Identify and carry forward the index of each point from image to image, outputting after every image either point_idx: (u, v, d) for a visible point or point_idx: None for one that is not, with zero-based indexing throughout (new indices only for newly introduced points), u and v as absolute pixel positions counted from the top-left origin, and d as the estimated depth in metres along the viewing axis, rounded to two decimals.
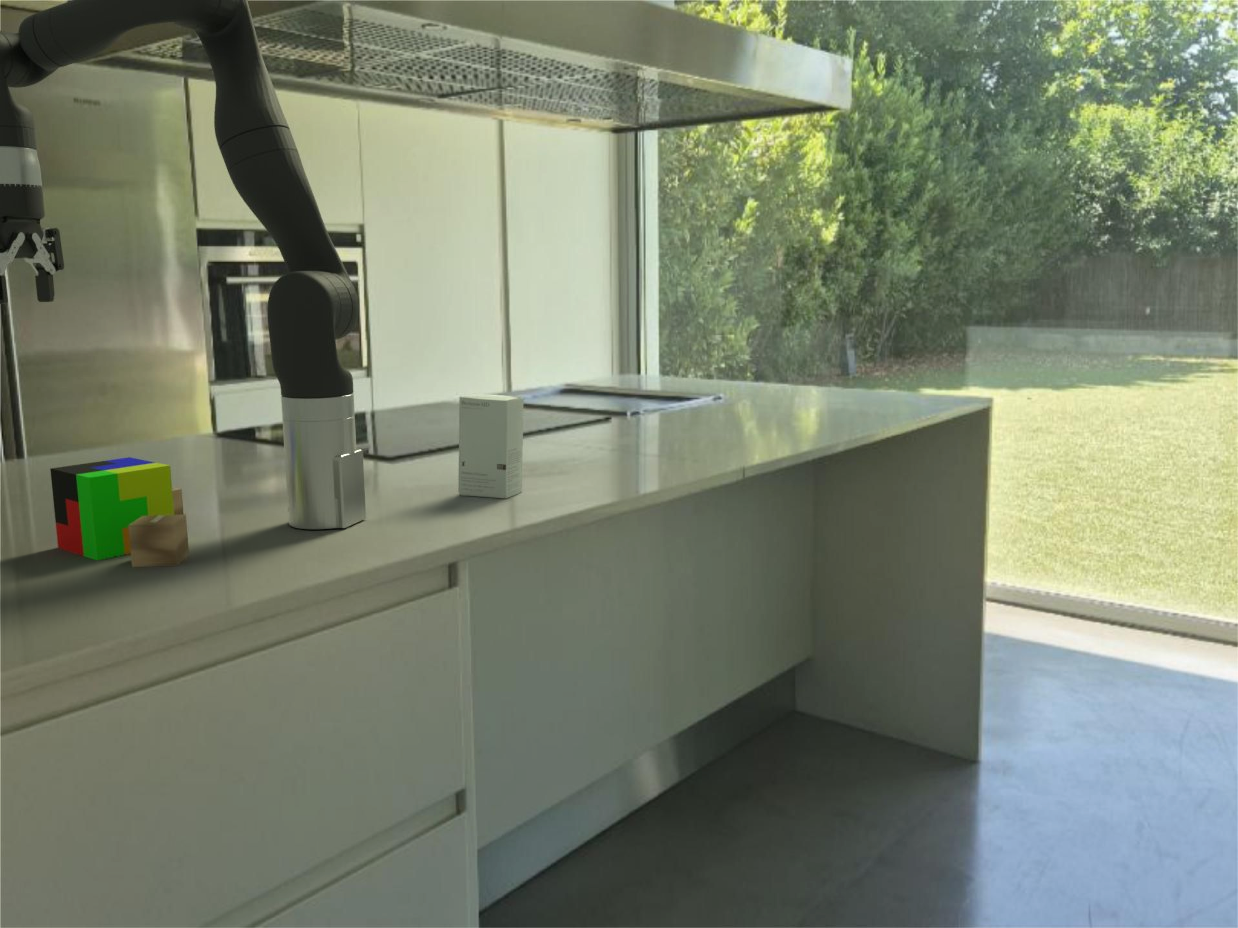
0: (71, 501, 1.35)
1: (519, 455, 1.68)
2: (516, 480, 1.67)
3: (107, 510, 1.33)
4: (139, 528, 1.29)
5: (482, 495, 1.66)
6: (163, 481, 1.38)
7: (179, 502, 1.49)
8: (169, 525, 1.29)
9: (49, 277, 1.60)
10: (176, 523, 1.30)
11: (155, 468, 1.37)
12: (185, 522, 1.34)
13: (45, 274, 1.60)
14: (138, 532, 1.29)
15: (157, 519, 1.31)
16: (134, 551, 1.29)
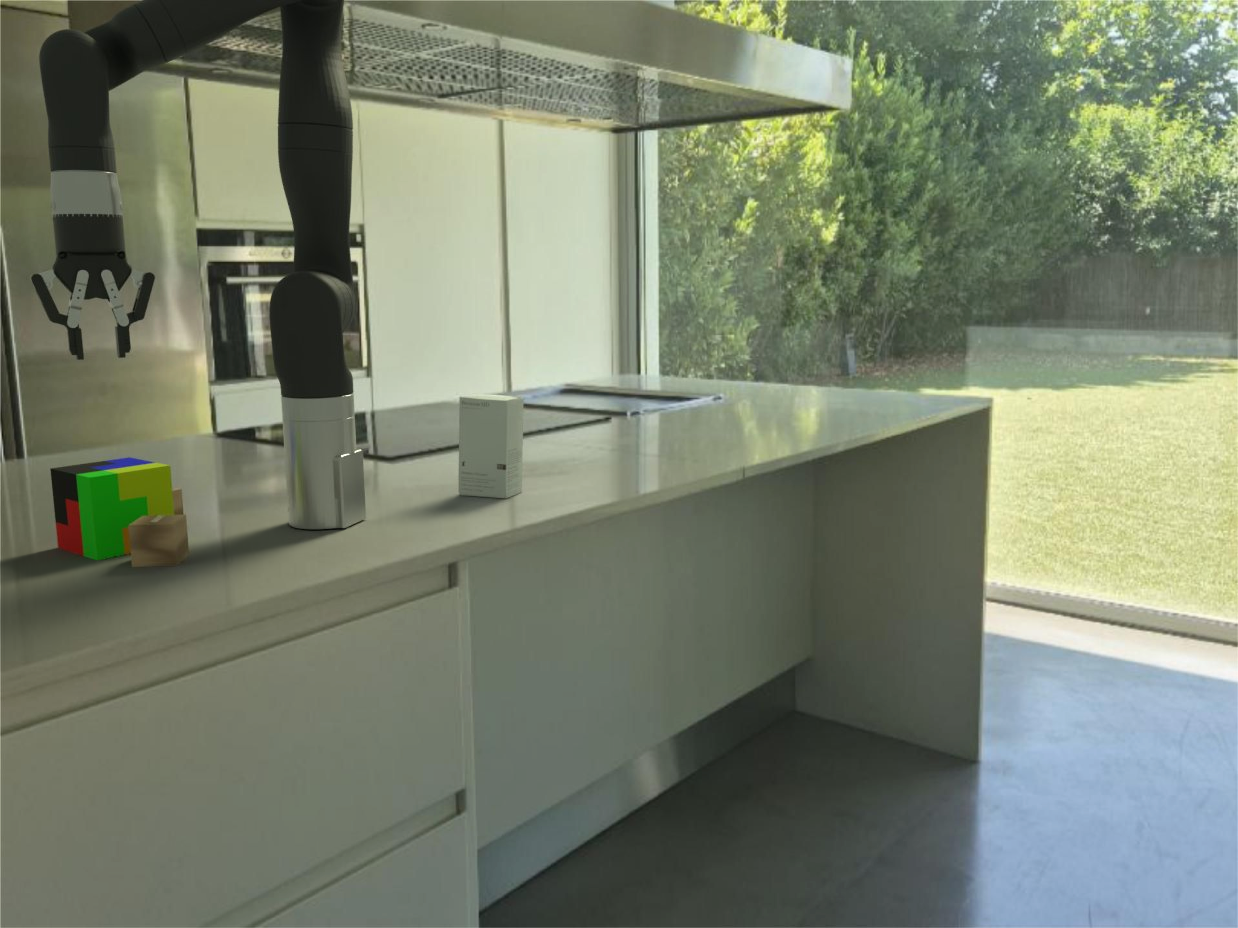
0: (71, 500, 1.35)
1: (519, 455, 1.68)
2: (516, 480, 1.67)
3: (107, 510, 1.33)
4: (139, 528, 1.29)
5: (482, 495, 1.66)
6: (163, 481, 1.38)
7: (179, 502, 1.49)
8: (169, 525, 1.29)
9: None
10: (176, 523, 1.30)
11: (155, 468, 1.37)
12: (185, 522, 1.34)
13: None
14: (138, 532, 1.29)
15: (157, 519, 1.31)
16: (134, 551, 1.29)
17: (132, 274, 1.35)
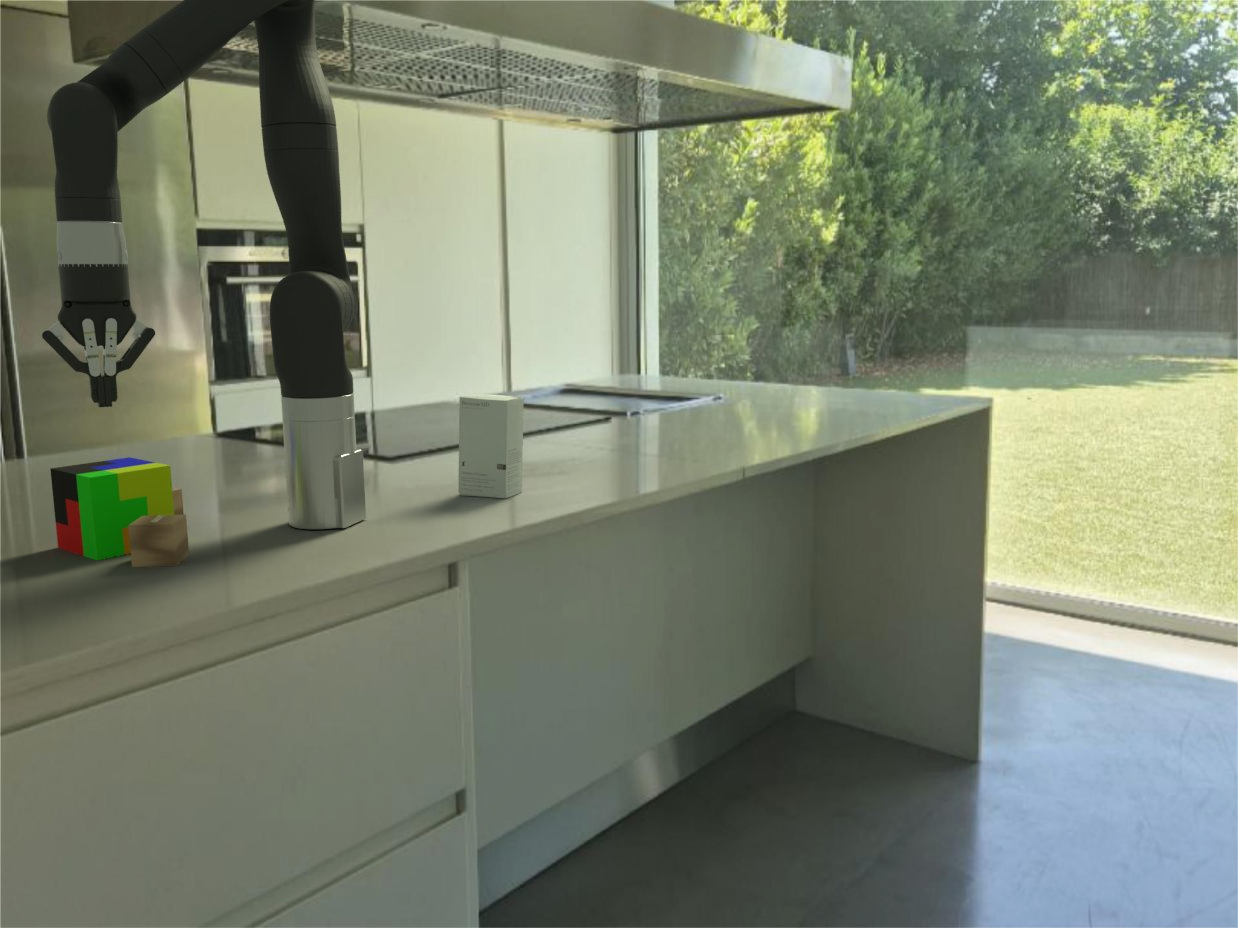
0: (71, 501, 1.35)
1: (519, 455, 1.68)
2: (516, 480, 1.67)
3: (107, 510, 1.33)
4: (139, 528, 1.29)
5: (482, 495, 1.66)
6: (163, 481, 1.38)
7: (179, 502, 1.49)
8: (169, 525, 1.29)
9: None
10: (176, 523, 1.30)
11: (155, 468, 1.37)
12: (185, 522, 1.34)
13: None
14: (138, 532, 1.29)
15: (157, 519, 1.31)
16: (134, 551, 1.29)
17: (134, 325, 1.36)
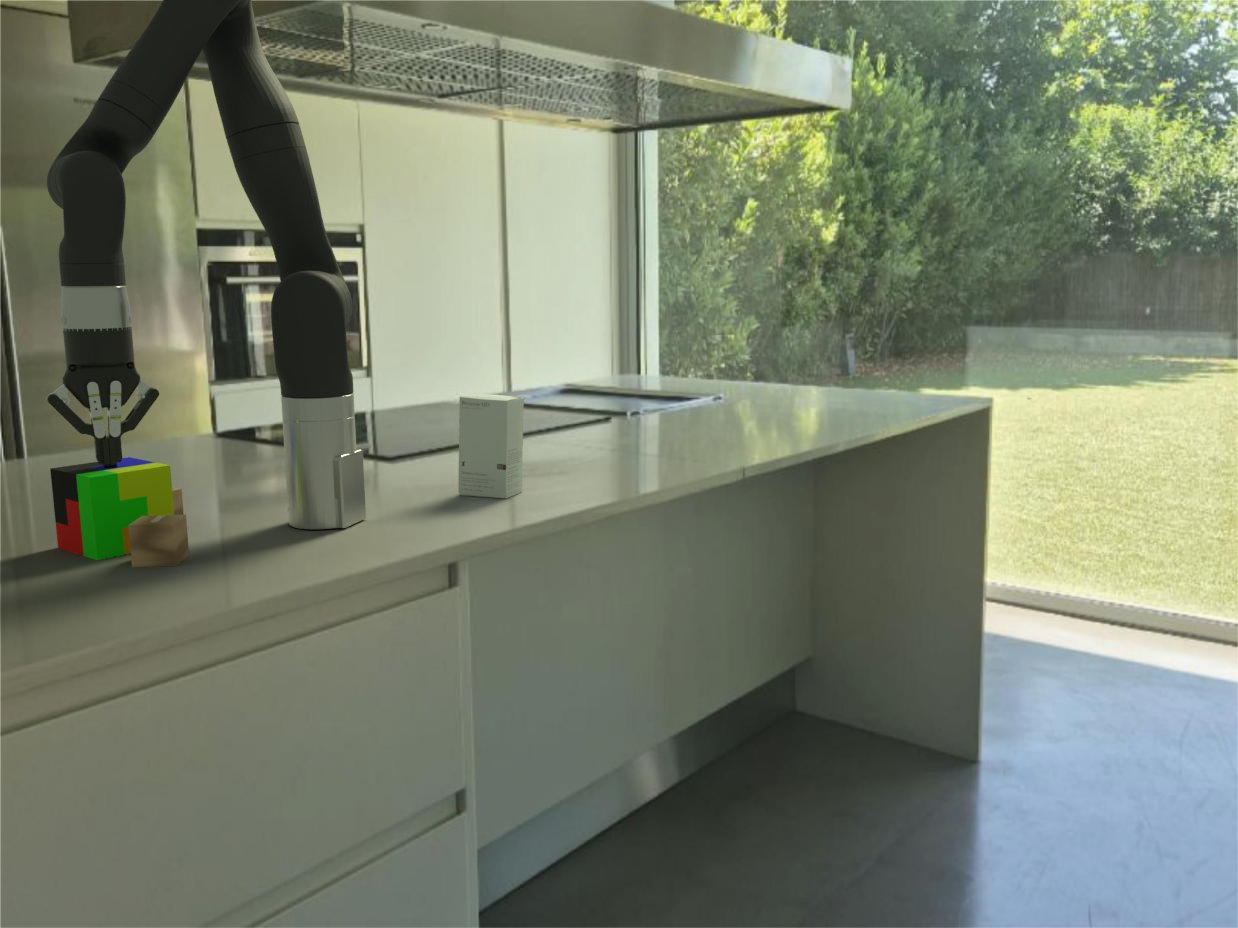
0: (71, 500, 1.35)
1: (519, 455, 1.68)
2: (516, 480, 1.67)
3: (107, 510, 1.33)
4: (139, 528, 1.29)
5: (482, 495, 1.66)
6: (163, 481, 1.38)
7: (179, 502, 1.49)
8: (169, 525, 1.29)
9: None
10: (176, 523, 1.30)
11: (155, 468, 1.37)
12: (185, 522, 1.34)
13: None
14: (138, 532, 1.29)
15: (157, 519, 1.31)
16: (134, 551, 1.29)
17: (138, 386, 1.38)
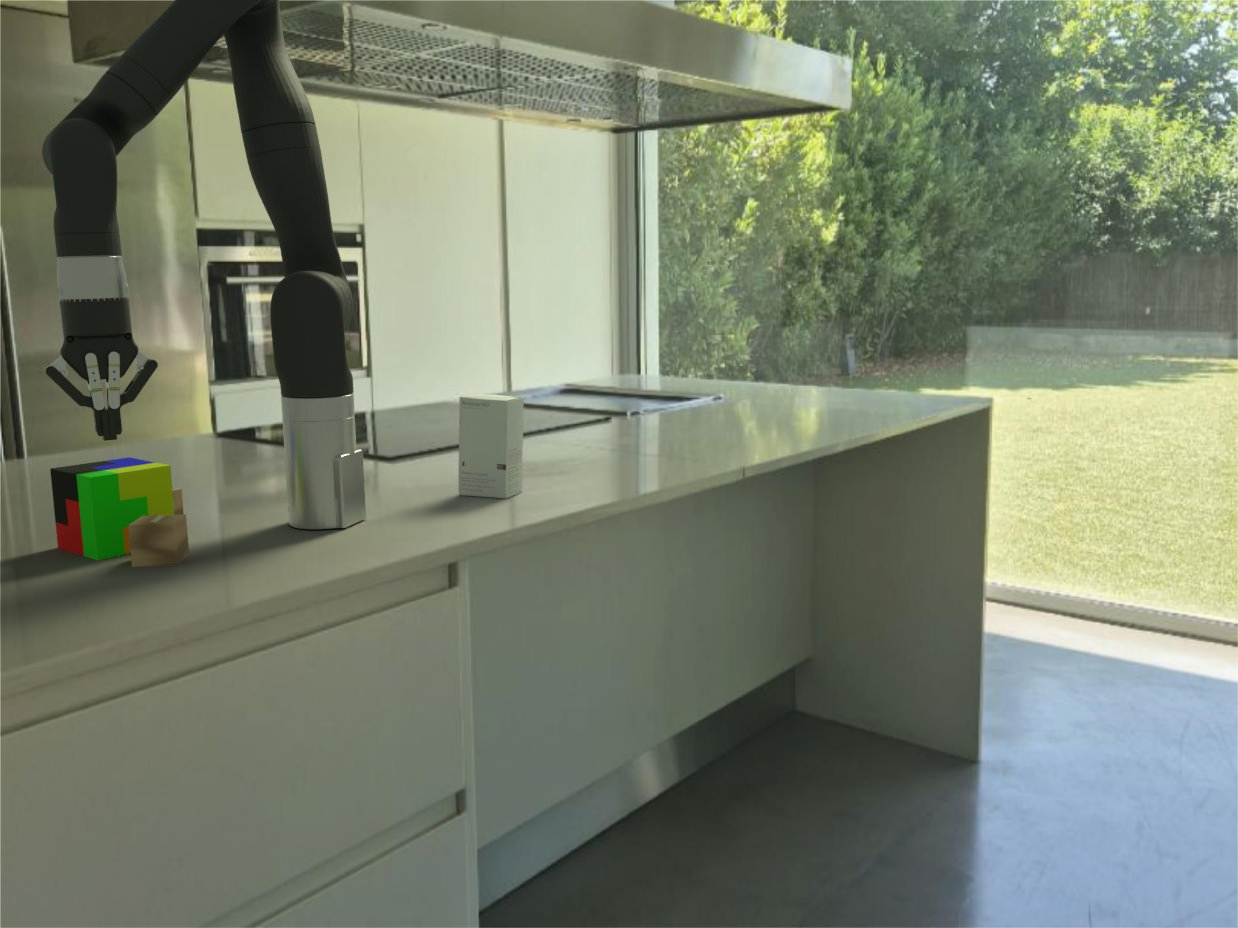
0: (71, 501, 1.35)
1: (519, 455, 1.68)
2: (516, 480, 1.67)
3: (108, 510, 1.33)
4: (140, 528, 1.29)
5: (482, 495, 1.66)
6: (163, 481, 1.38)
7: (179, 502, 1.49)
8: (169, 525, 1.29)
9: None
10: (176, 523, 1.30)
11: (155, 468, 1.37)
12: (185, 522, 1.34)
13: None
14: (138, 532, 1.29)
15: (157, 519, 1.31)
16: (134, 551, 1.29)
17: (136, 357, 1.37)
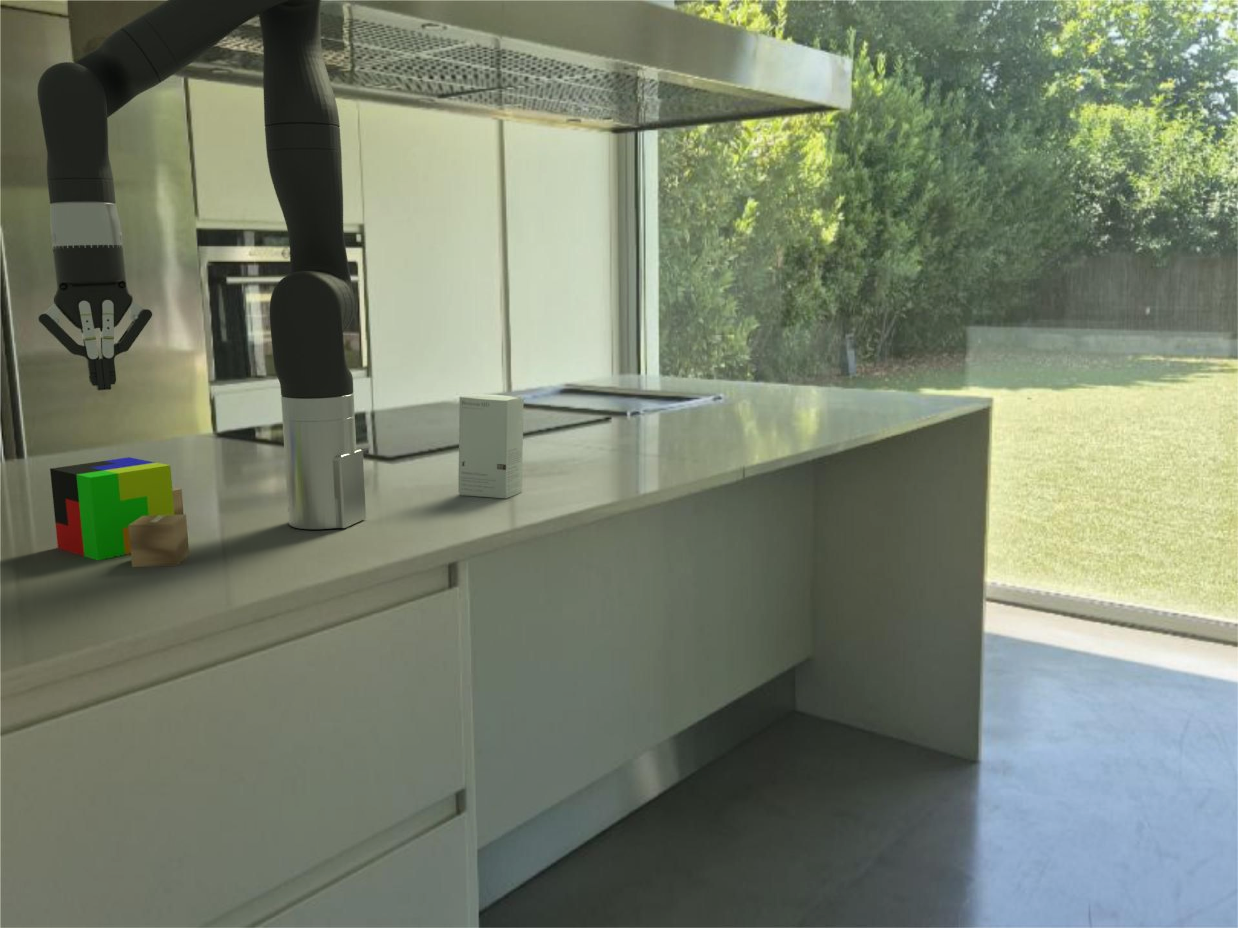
0: (71, 501, 1.35)
1: (519, 455, 1.68)
2: (516, 480, 1.67)
3: (108, 510, 1.33)
4: (139, 528, 1.29)
5: (482, 495, 1.66)
6: (163, 481, 1.38)
7: (179, 502, 1.49)
8: (169, 525, 1.29)
9: None
10: (176, 523, 1.30)
11: (155, 468, 1.37)
12: (185, 522, 1.34)
13: None
14: (138, 532, 1.29)
15: (157, 519, 1.31)
16: (134, 551, 1.29)
17: (131, 306, 1.36)
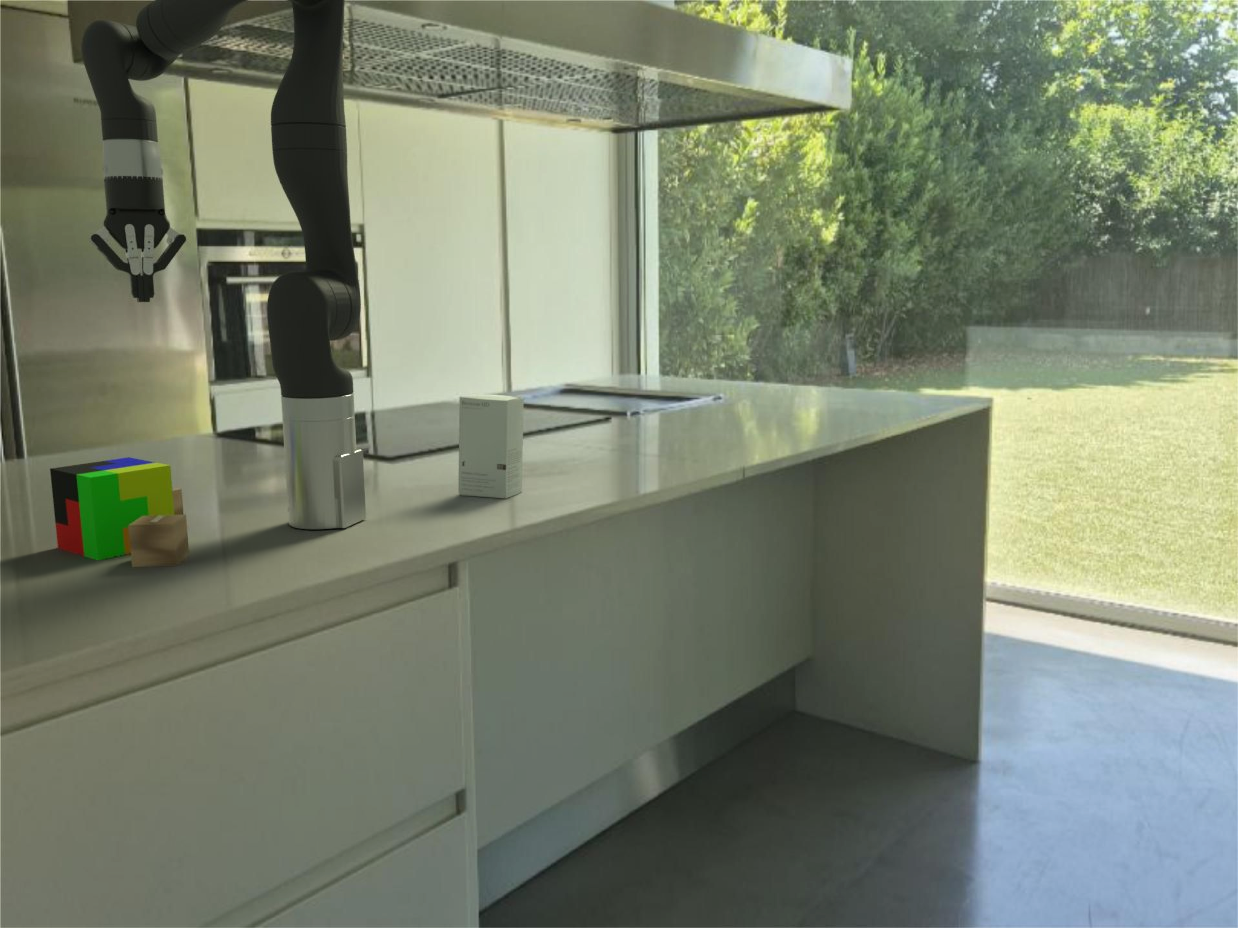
0: (71, 501, 1.35)
1: (519, 455, 1.68)
2: (516, 480, 1.67)
3: (108, 510, 1.33)
4: (139, 528, 1.29)
5: (482, 495, 1.66)
6: (163, 481, 1.38)
7: (179, 502, 1.49)
8: (169, 525, 1.29)
9: None
10: (176, 523, 1.30)
11: (155, 468, 1.37)
12: (185, 522, 1.34)
13: None
14: (138, 532, 1.29)
15: (157, 519, 1.31)
16: (134, 551, 1.29)
17: (168, 231, 1.59)
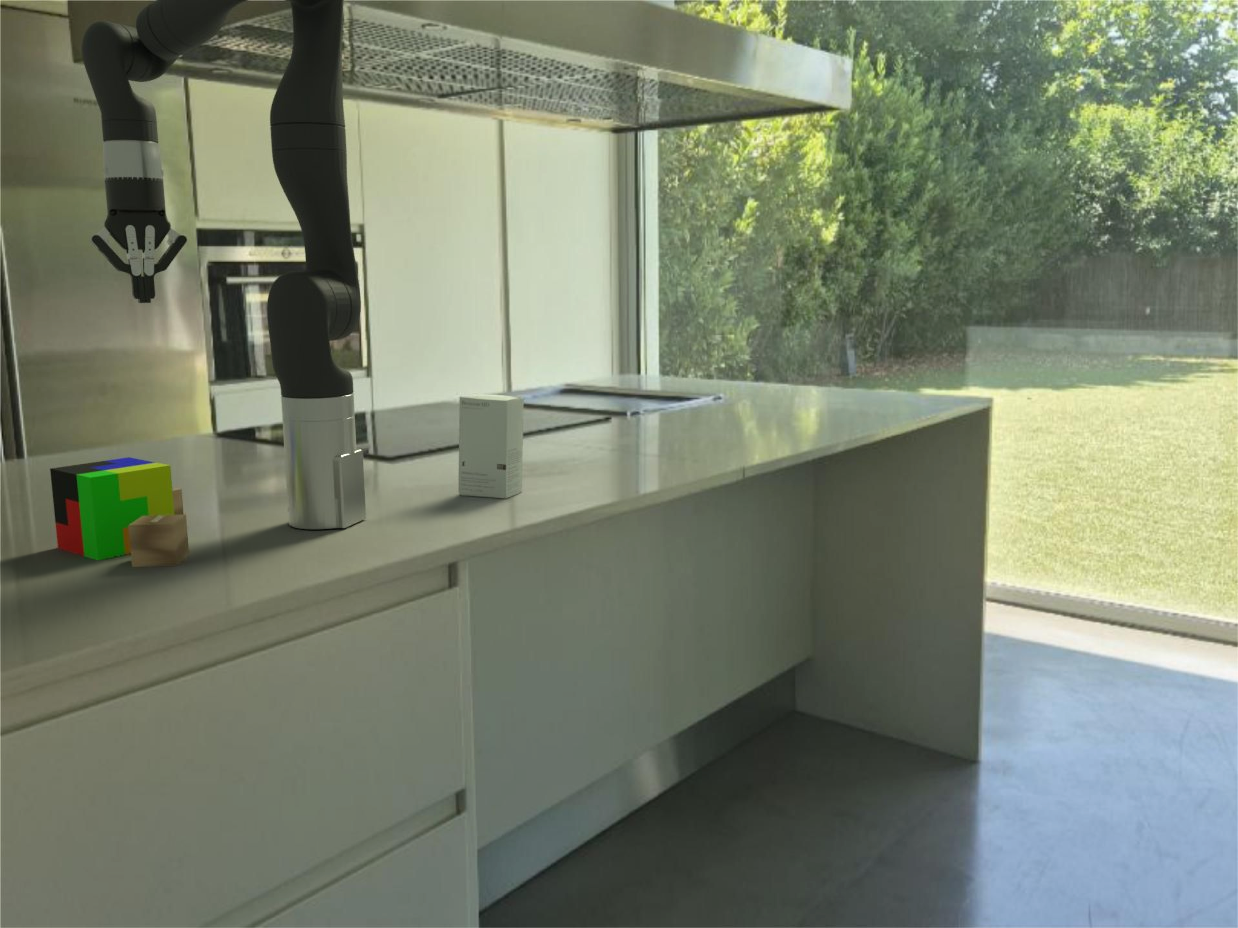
0: (71, 501, 1.35)
1: (519, 455, 1.68)
2: (516, 480, 1.67)
3: (108, 510, 1.33)
4: (140, 528, 1.29)
5: (482, 495, 1.66)
6: (163, 481, 1.38)
7: (179, 502, 1.49)
8: (169, 525, 1.29)
9: None
10: (176, 523, 1.30)
11: (155, 468, 1.37)
12: (185, 522, 1.34)
13: None
14: (138, 532, 1.29)
15: (157, 519, 1.31)
16: (134, 551, 1.29)
17: (169, 232, 1.59)
